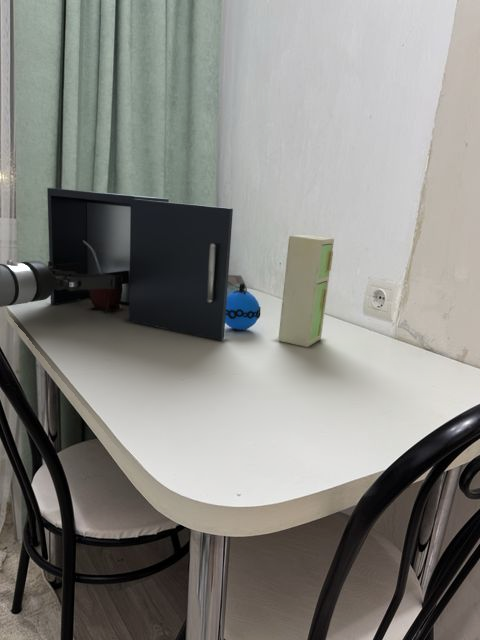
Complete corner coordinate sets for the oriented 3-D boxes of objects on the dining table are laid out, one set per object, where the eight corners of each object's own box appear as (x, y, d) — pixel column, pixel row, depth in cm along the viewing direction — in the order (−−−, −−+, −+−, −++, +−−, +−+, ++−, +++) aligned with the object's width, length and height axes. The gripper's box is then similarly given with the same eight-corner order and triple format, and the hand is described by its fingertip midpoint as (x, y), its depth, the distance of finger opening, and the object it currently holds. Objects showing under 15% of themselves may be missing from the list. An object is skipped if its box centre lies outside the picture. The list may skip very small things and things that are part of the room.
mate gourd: (125, 312, 114) (125, 245, 110) (88, 313, 111) (88, 243, 106) (117, 305, 120) (118, 241, 116) (83, 306, 117) (82, 240, 113)
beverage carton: (214, 309, 125) (216, 283, 124) (212, 295, 144) (214, 272, 142) (246, 311, 127) (248, 285, 125) (240, 297, 145) (242, 274, 143)
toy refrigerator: (311, 348, 99) (324, 239, 93) (277, 341, 102) (288, 235, 96) (324, 340, 106) (337, 238, 100) (292, 333, 109) (303, 234, 103)
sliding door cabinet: (40, 305, 113) (36, 187, 106) (87, 297, 126) (86, 191, 119) (217, 343, 97) (226, 205, 90) (249, 328, 110) (260, 207, 103)
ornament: (228, 322, 113) (231, 278, 111) (264, 328, 111) (268, 283, 108) (211, 330, 106) (214, 283, 103) (250, 337, 103) (254, 288, 100)
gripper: (75, 271, 88) (149, 262, 107) (-25, 253, 97) (59, 249, 116) (76, 313, 90) (148, 297, 109) (-22, 292, 99) (60, 281, 118)
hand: (102, 272), depth 113 cm, fingers open, 13 cm apart
